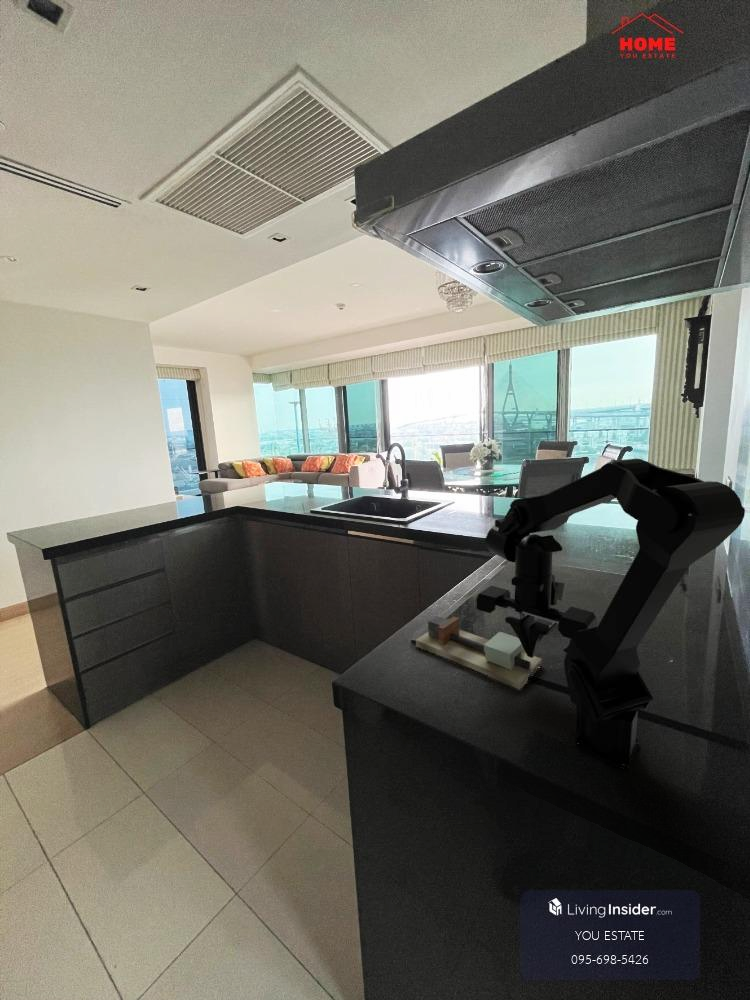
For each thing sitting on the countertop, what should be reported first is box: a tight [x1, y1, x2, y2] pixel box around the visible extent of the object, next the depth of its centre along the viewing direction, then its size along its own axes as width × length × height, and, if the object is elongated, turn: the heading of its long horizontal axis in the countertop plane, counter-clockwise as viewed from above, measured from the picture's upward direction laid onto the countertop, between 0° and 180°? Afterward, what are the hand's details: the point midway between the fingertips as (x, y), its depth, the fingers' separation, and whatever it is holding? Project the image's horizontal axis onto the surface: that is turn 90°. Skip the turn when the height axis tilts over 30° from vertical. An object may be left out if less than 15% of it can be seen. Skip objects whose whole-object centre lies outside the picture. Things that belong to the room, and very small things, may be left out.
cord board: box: [415, 615, 543, 690], centre depth 79 cm, size 22×9×5 cm, turn 46°
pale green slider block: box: [484, 631, 525, 670], centre depth 75 cm, size 5×6×3 cm
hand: (531, 656), depth 72 cm, fingers closed
